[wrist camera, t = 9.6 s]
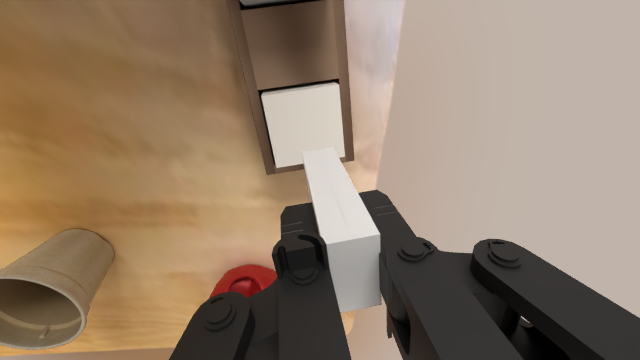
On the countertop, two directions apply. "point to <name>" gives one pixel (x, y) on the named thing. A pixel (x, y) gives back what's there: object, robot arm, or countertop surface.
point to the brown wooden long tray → (292, 58)
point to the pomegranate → (245, 280)
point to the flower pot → (52, 290)
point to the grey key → (267, 2)
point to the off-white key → (303, 120)
